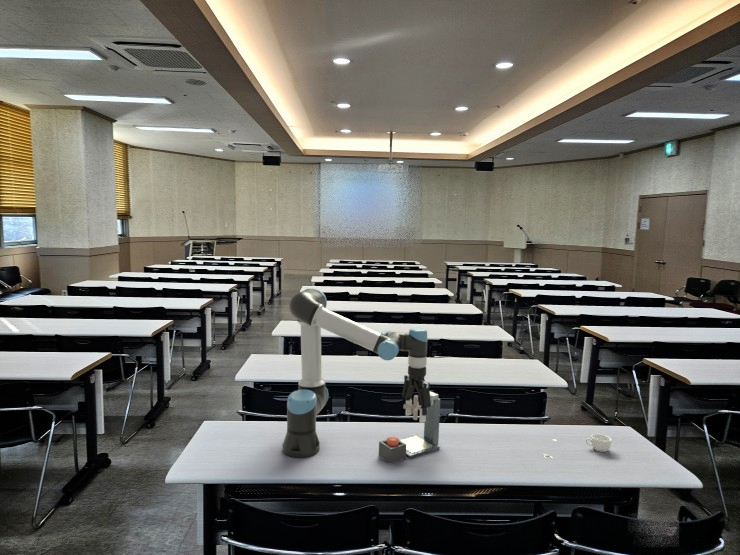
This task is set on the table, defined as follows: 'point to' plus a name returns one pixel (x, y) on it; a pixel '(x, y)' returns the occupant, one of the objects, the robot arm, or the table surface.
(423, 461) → the table surface
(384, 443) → the button housing
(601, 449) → the teacup
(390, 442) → the press button
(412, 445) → the press frame
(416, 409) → the pipe connector
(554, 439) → the paper
